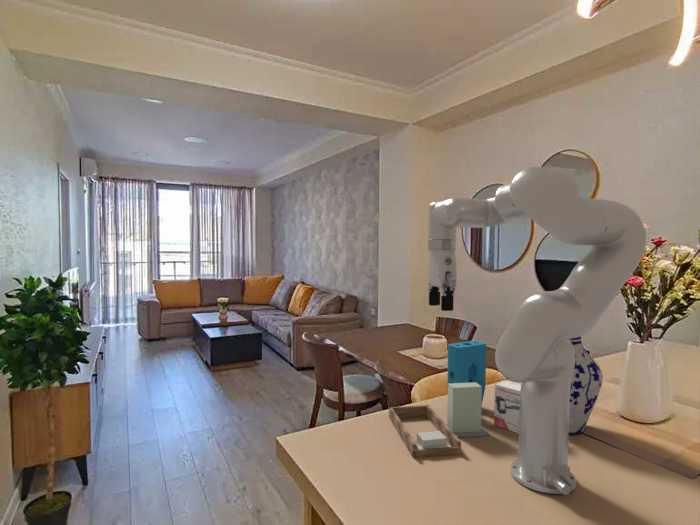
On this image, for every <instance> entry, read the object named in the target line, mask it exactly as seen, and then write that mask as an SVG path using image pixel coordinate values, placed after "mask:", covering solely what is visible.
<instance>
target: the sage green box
mask: <svg viewBox="0 0 700 525" xmlns="http://www.w3.org/2000/svg"><path fill="white" fill-rule="evenodd" d="M481 403H482V404H483V401H482V386H480V385H479V384H477V383H476V382H472V383H448V390H447V419H446V420H447V421H446V422H447V423H446V424H447V427H448V428H449V429H450V430H451V431H452V432H453V433H460V432H476V431H481V426H482V406H481Z"/></svg>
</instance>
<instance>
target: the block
mask: <svg viewBox="0 0 700 525" xmlns="http://www.w3.org/2000/svg"><path fill="white" fill-rule="evenodd" d="M486 368H487V343H486V342H483V341H479V340H469V341H461V342H456V343H455V342H453V343H448V344H447V373H446V374H447V379H446V381H447V382H446V383H447V384H446V385H447V388H446V389H447V391H448V383H472V382H476V383H477V384H479V385H480V386H482V403H481V407H482V406H483V400H484V396H485V390H486V377H487V376H486V375H487V374H486V373H487V371H486V370H487V369H486Z"/></svg>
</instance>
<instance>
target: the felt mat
mask: <svg viewBox="0 0 700 525" xmlns="http://www.w3.org/2000/svg"><path fill="white" fill-rule="evenodd" d="M445 424H446V425H447V423H445ZM454 434H455V436H456V437H457V438H458V439H459V438H469V437H470V438H472V437H487V436H488V437H489V436H490V435H491V434H490V433H489V432H488V430H486V429H485V428H484V427H483V426H482V425H481V431H476V432H460V433H454Z"/></svg>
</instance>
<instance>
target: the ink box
mask: <svg viewBox="0 0 700 525" xmlns="http://www.w3.org/2000/svg"><path fill="white" fill-rule="evenodd" d="M521 385H522V383H519V382H513V381H510V380H508V381H507V380H500V381H499V382H497V383H494V411H493V415H494V416H493V418H494V420H493V425H494V426H496V427H499V428H501V429H505V430H507V431H511V432H513V433H515V434H519V411H520V390H521Z"/></svg>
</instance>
